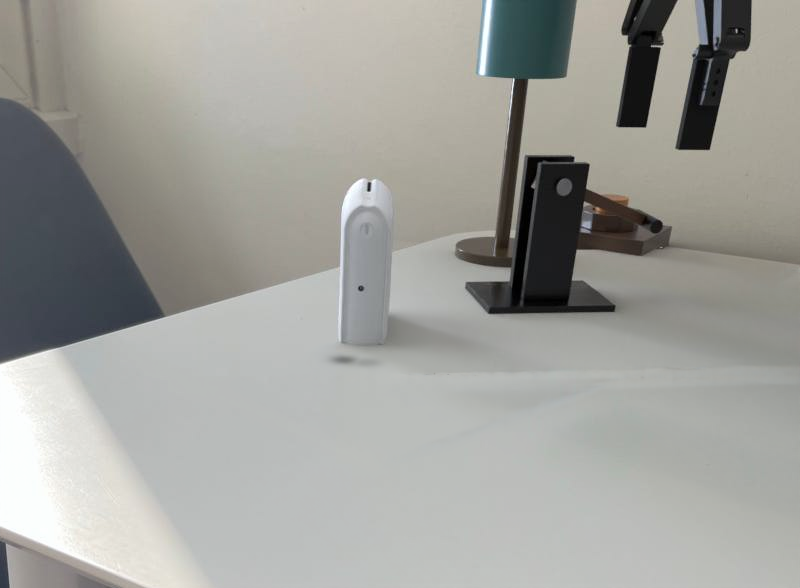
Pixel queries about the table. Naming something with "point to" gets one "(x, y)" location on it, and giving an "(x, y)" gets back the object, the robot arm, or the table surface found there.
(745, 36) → the robot arm
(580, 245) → the block
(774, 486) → the table surface
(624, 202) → the lamp button
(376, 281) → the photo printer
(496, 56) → the lamp
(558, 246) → the switch bracket
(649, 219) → the switch lever
